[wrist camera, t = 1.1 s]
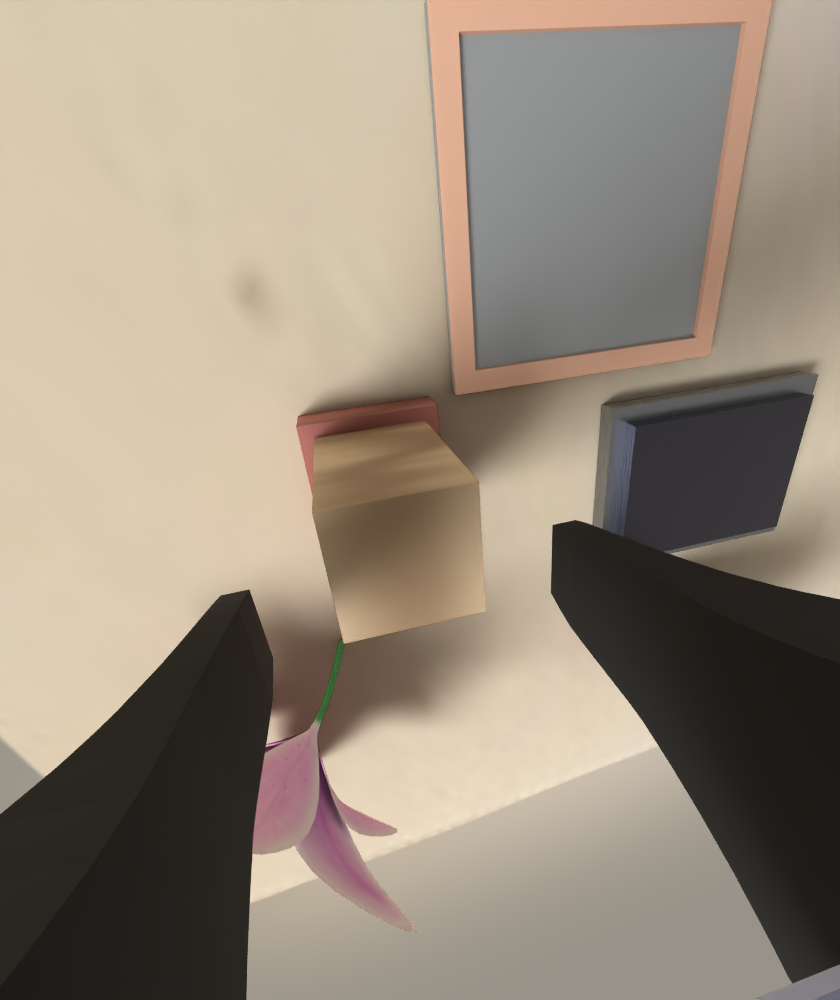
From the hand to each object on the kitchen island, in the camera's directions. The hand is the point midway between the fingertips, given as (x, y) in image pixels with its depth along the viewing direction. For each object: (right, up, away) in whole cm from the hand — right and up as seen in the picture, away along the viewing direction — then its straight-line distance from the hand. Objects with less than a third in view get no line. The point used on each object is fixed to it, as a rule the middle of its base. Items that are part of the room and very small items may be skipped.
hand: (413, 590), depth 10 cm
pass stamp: (-2, +3, +7) cm, 9 cm away
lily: (-6, -8, +12) cm, 15 cm away
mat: (+6, +12, +5) cm, 15 cm away
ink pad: (+13, +4, +11) cm, 17 cm away
